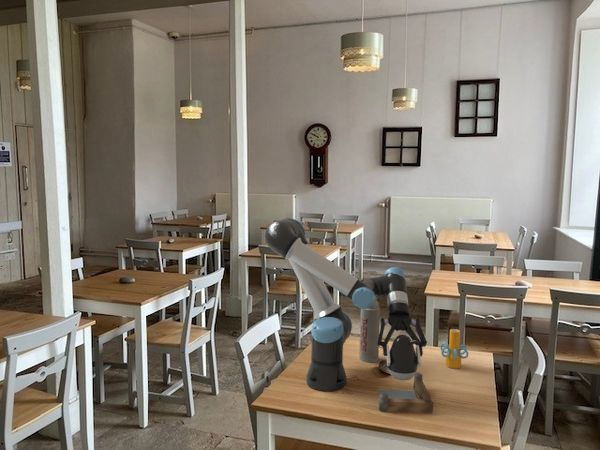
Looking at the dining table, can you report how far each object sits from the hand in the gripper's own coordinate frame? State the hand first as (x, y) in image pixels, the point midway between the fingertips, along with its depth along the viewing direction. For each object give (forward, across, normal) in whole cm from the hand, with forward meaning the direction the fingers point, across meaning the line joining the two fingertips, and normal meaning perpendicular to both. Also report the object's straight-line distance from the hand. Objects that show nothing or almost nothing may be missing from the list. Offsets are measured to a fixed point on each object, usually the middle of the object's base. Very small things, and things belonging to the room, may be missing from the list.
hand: (404, 364), depth 168 cm
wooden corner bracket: (+7, 0, -13) cm, 15 cm away
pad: (+7, +1, -12) cm, 14 cm away
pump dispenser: (+2, 0, -6) cm, 7 cm away
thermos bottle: (-19, +8, -38) cm, 43 cm away
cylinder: (-15, -26, -35) cm, 46 cm away
